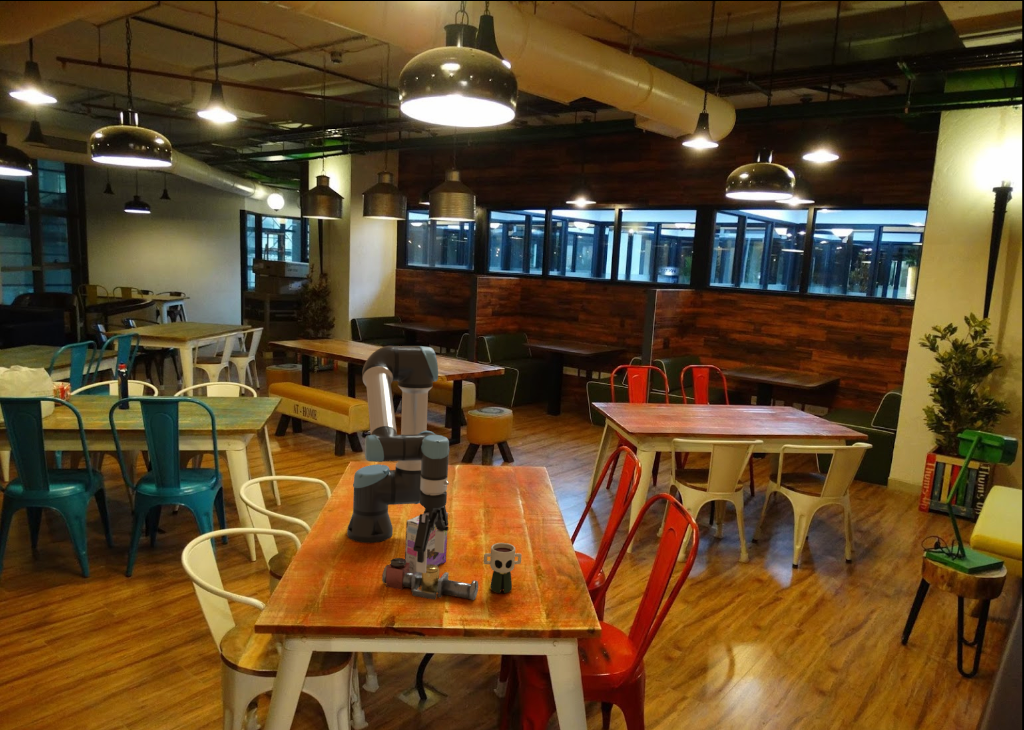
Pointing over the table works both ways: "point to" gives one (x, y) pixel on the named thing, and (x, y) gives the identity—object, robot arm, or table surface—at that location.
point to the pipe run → (400, 577)
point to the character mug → (502, 566)
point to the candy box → (432, 556)
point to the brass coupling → (430, 579)
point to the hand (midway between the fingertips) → (430, 561)
